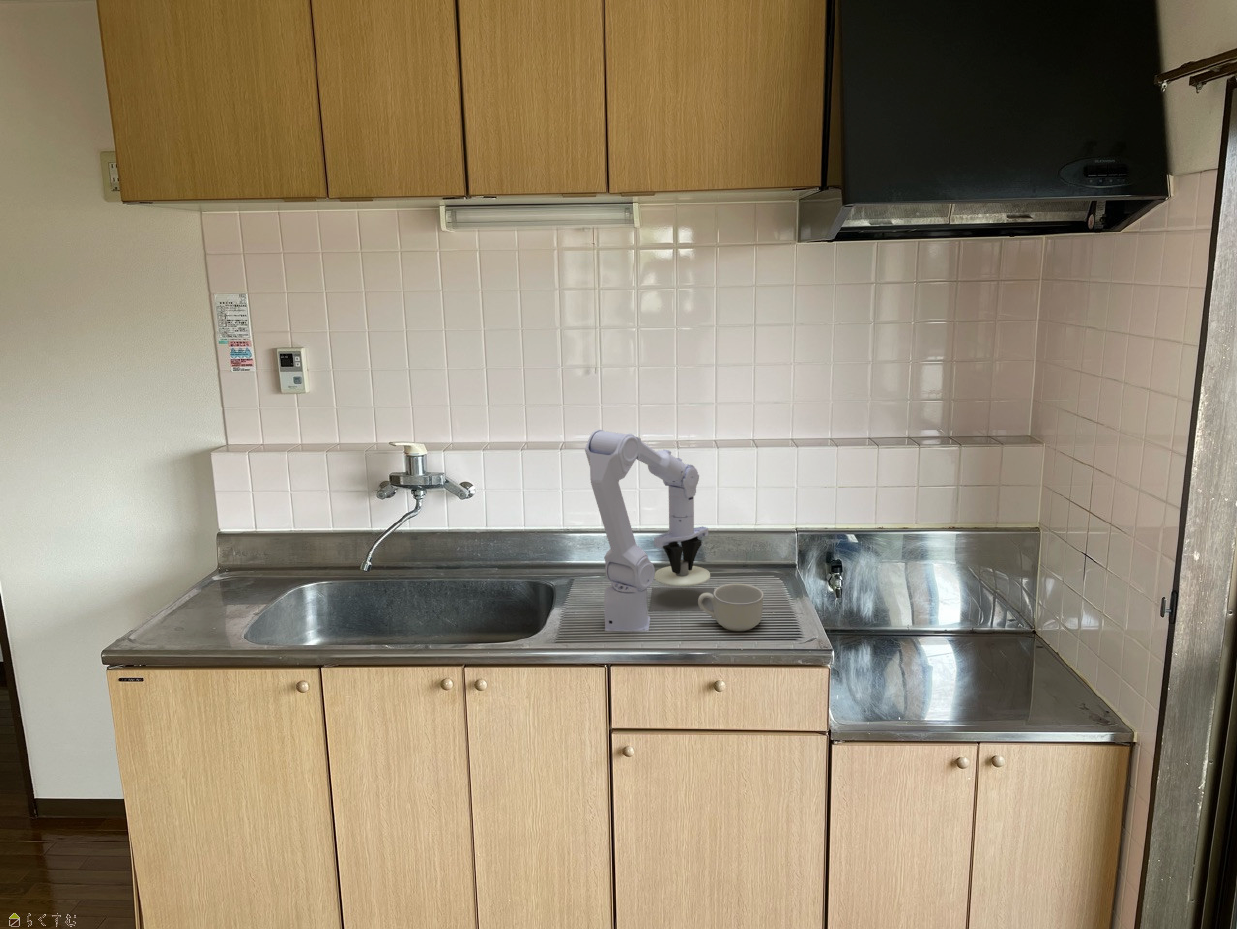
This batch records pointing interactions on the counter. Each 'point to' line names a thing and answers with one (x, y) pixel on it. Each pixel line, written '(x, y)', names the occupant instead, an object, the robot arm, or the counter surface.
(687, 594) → the mat
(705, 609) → the teacup
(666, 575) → the lid
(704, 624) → the counter surface
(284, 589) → the counter surface
